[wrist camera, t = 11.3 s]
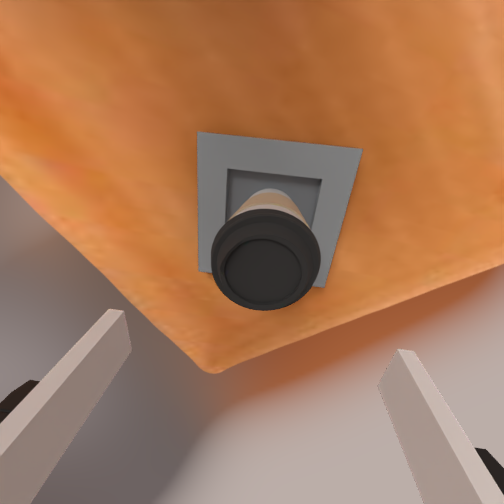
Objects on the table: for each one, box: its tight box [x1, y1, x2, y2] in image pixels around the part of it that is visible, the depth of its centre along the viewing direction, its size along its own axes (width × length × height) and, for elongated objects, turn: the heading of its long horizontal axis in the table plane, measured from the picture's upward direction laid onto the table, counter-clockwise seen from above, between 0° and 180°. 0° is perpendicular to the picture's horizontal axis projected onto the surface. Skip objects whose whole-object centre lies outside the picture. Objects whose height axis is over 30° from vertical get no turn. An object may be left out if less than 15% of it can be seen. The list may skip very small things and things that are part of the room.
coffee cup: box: [211, 188, 321, 311], centre depth 24 cm, size 9×9×15 cm
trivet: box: [197, 132, 363, 288], centre depth 31 cm, size 18×18×2 cm
